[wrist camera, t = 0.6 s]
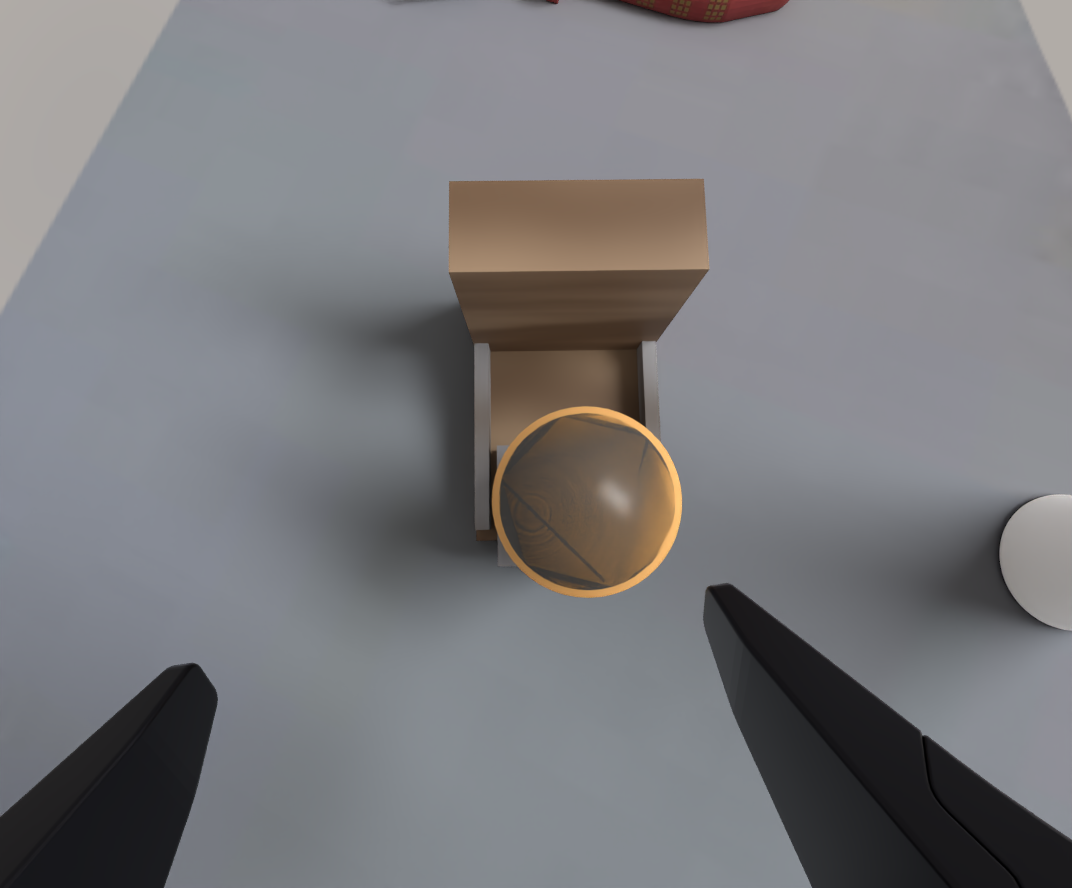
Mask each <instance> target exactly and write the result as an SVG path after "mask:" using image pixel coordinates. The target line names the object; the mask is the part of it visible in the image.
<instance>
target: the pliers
mask: <svg viewBox="0 0 1072 888" xmlns="http://www.w3.org/2000/svg"><path fill="white" fill-rule="evenodd" d="M546 1H550V2H553V3H556V4H558V1H559V0H546ZM620 1H623V2H627V3H630V4H633V5H637V6H640V7H643V8H647V9H650V10H653V11H657V12H660V13H663V14H666V15H670V16H673V17H678V18H682V19H687V20H693V21H700V22H726V21H731V20H735V19H740V18H745V17H749V16H754V15H759V14H764V13H768V12H773V11H776V10H778V9H780V8H781V7H783V6H784V5H785V4H786V3H787V2H788V1H789V0H620Z"/></svg>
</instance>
